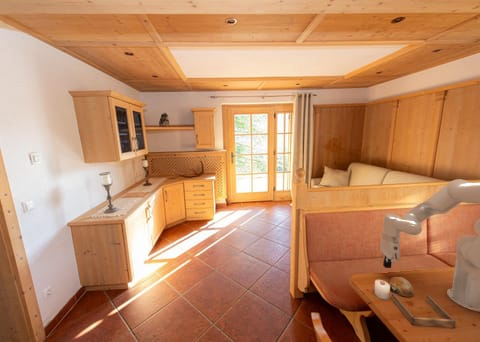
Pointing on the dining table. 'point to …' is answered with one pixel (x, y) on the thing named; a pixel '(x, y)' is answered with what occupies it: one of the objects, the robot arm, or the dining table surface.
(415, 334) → the dining table surface
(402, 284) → the bread roll
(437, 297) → the dining table surface
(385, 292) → the pot
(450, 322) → the open rail frame
